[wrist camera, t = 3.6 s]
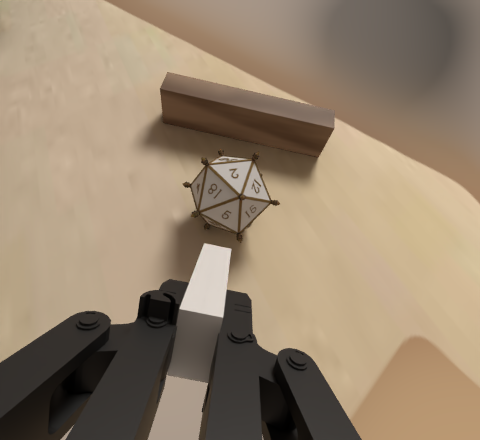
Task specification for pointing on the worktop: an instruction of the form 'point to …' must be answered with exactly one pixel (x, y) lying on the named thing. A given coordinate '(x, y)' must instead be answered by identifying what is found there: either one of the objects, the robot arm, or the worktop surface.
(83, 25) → the worktop surface
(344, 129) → the worktop surface
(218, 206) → the game die
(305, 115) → the rail
